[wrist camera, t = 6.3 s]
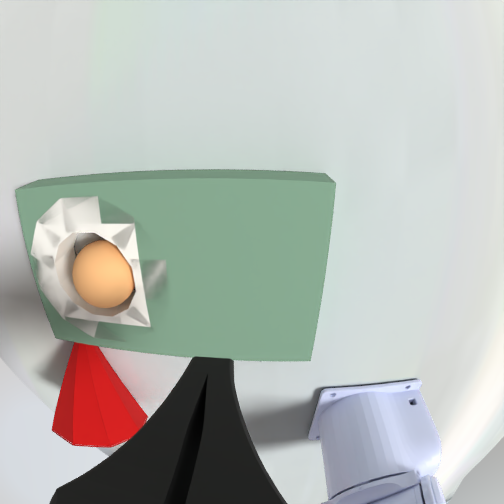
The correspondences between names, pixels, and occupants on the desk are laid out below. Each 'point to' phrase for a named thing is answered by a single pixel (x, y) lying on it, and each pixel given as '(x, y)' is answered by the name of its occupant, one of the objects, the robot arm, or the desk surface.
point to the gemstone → (95, 402)
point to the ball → (102, 275)
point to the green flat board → (188, 259)
